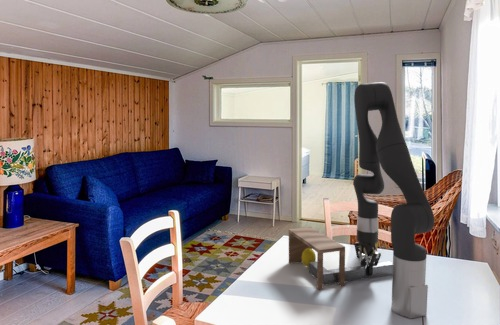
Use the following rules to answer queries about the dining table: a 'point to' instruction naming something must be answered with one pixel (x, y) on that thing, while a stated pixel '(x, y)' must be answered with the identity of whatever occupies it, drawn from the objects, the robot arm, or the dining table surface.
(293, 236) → the small wooden stool
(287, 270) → the dining table surface
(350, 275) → the crook tool
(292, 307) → the dining table surface
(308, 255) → the lemon
